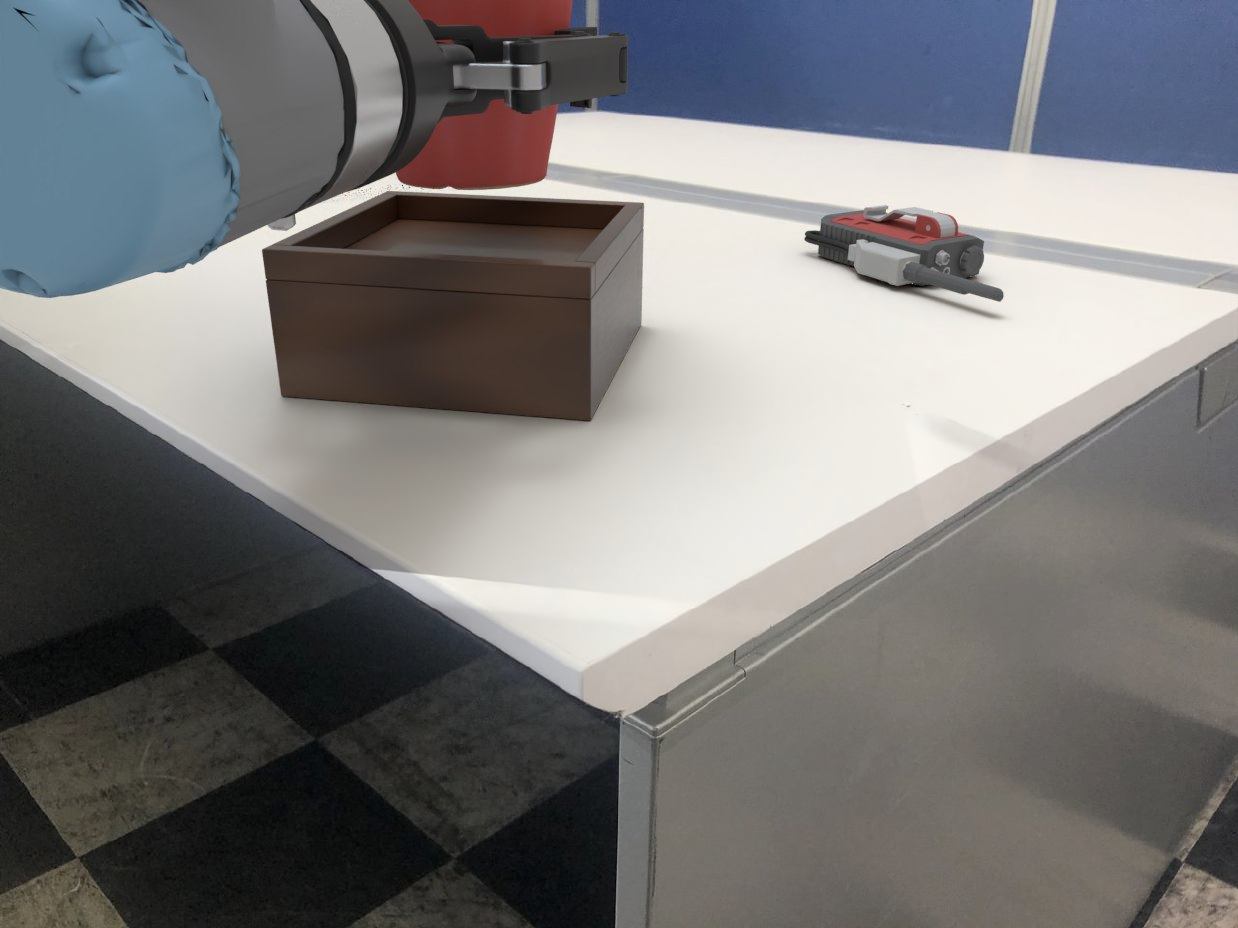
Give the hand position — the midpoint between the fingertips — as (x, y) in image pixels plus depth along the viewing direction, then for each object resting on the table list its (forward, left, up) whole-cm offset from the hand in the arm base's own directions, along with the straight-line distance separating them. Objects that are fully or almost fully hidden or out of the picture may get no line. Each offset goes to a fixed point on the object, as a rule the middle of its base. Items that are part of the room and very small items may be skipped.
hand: (490, 52), depth 55 cm
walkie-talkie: (+26, +20, -16) cm, 36 cm away
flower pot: (0, -4, -6) cm, 7 cm away
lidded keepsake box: (0, -4, -16) cm, 16 cm away
